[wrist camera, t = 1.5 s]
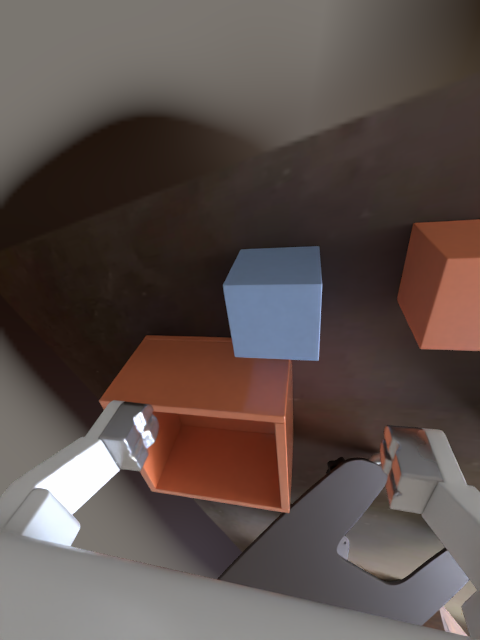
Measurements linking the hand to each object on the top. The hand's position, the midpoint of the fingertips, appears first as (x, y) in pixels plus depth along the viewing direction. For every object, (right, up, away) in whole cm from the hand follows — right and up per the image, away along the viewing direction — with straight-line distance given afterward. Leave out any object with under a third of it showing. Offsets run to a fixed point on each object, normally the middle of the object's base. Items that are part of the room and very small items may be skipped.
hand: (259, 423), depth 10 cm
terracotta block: (+10, +7, +5) cm, 13 cm away
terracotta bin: (-2, -2, +14) cm, 15 cm away
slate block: (+2, +6, +8) cm, 10 cm away
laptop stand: (+12, -18, +22) cm, 31 cm away
